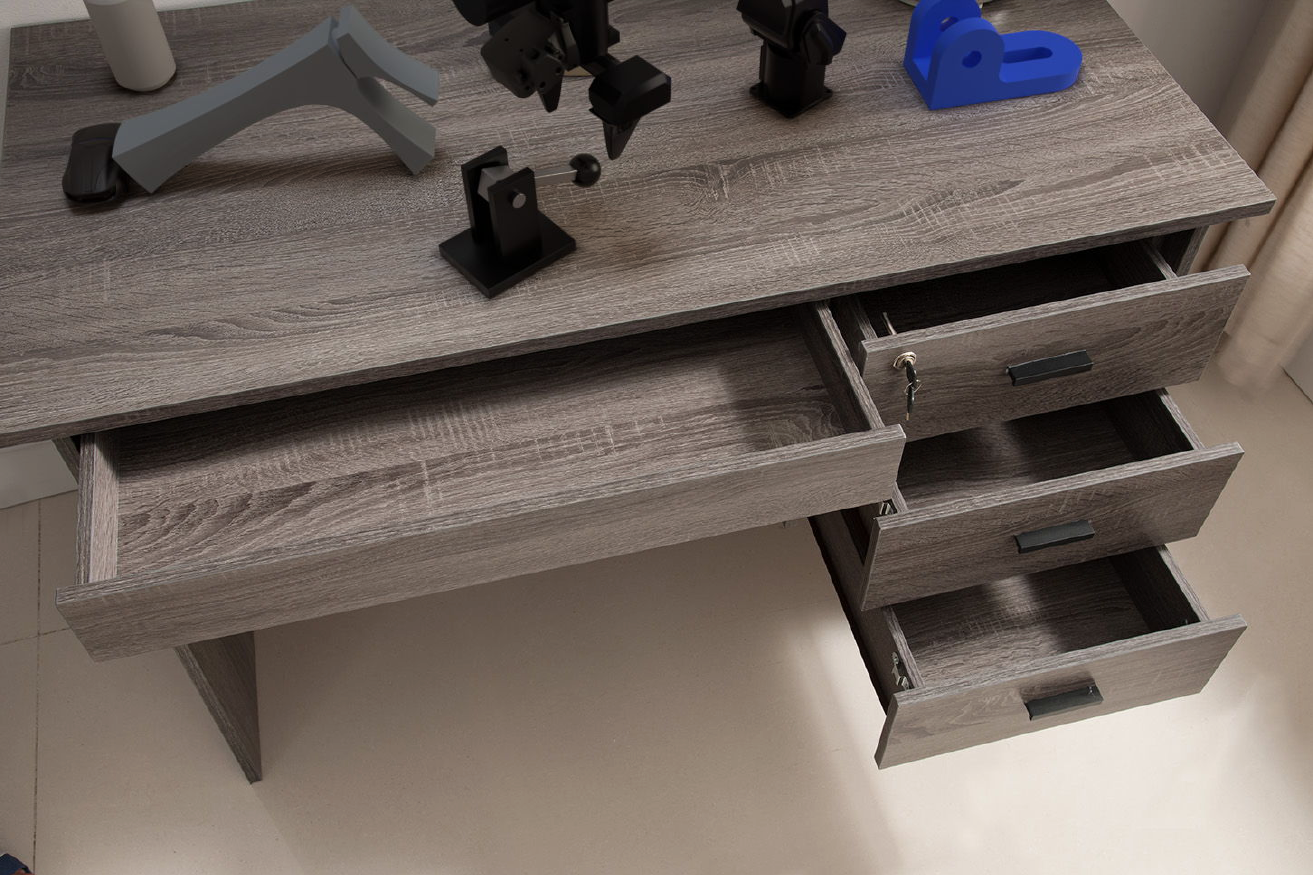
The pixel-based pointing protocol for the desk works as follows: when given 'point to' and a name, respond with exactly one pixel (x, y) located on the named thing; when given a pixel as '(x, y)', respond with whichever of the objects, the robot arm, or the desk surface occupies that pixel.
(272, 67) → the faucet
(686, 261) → the desk surface
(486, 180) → the lever handle
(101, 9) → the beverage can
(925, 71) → the bracket
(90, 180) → the black computer mouse
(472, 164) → the lever switch
